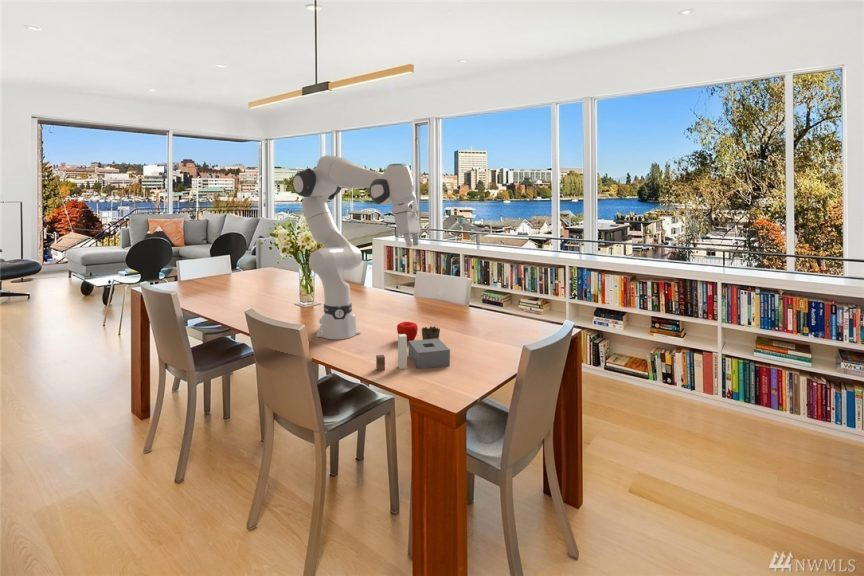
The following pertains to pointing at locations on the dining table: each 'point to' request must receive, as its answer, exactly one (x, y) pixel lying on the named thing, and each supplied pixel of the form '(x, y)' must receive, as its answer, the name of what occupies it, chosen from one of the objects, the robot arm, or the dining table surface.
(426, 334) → the small green plant
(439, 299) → the dining table surface
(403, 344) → the tall pin
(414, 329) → the apple
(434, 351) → the hole block
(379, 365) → the short pin
